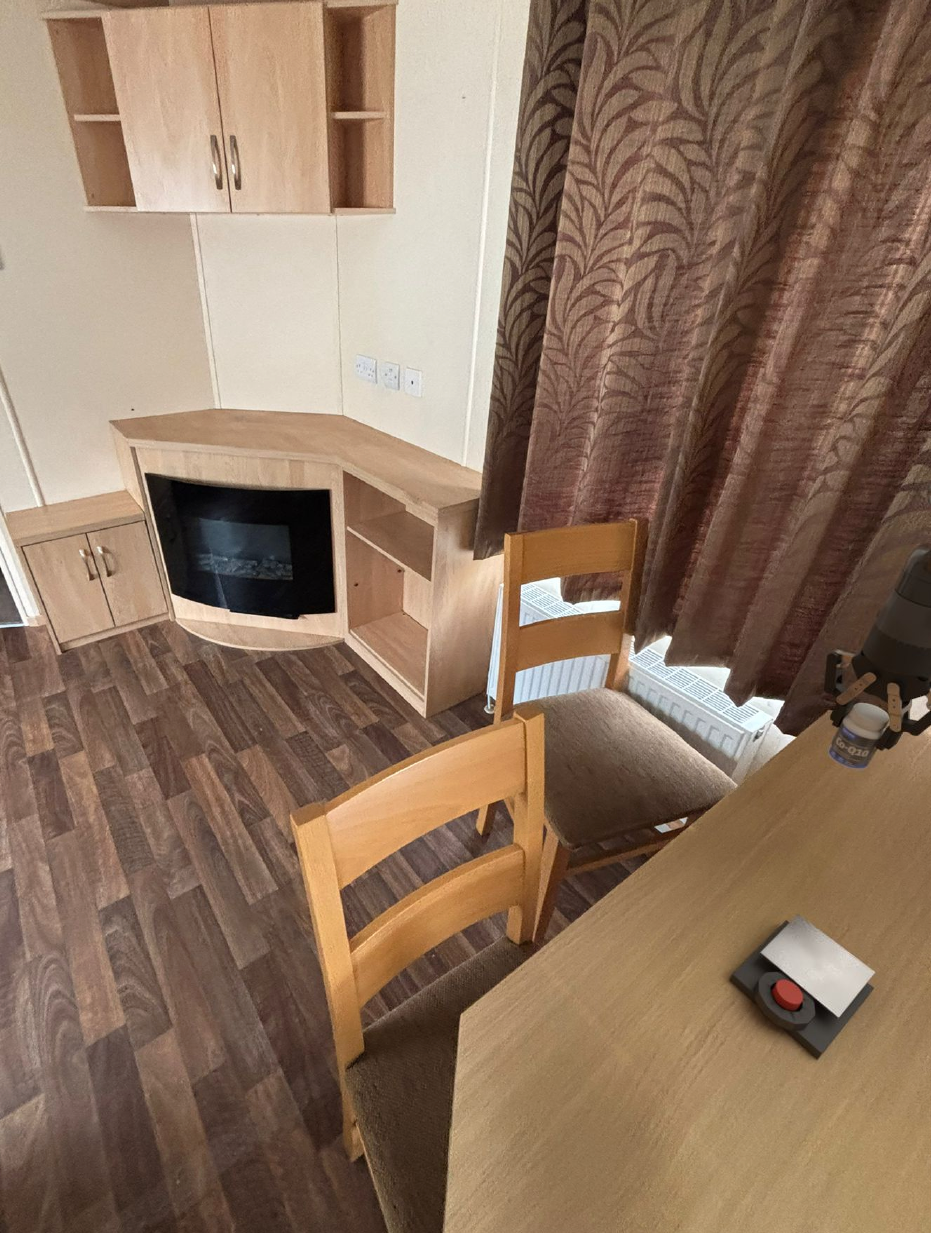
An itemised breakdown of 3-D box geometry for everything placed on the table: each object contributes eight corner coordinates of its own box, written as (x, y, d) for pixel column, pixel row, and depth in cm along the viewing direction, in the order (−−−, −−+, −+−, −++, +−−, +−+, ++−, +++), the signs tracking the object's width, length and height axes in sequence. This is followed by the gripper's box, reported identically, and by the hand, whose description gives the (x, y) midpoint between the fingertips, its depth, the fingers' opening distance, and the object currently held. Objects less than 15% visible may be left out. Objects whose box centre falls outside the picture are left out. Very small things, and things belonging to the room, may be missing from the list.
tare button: (779, 981, 70) (784, 974, 69) (803, 1001, 68) (807, 994, 67) (767, 995, 68) (771, 988, 68) (791, 1015, 66) (795, 1009, 66)
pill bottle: (822, 758, 84) (844, 711, 79) (832, 741, 87) (855, 695, 82) (862, 777, 81) (888, 729, 77) (871, 759, 84) (897, 712, 79)
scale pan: (797, 915, 76) (798, 913, 76) (874, 974, 70) (875, 972, 70) (759, 954, 72) (760, 952, 72) (837, 1019, 66) (838, 1017, 66)
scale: (782, 926, 78) (790, 912, 76) (869, 994, 71) (879, 980, 69) (722, 986, 72) (729, 972, 70) (811, 1068, 65) (821, 1054, 63)
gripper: (1002, 646, 69) (934, 756, 78) (863, 595, 79) (817, 697, 88) (975, 668, 66) (907, 780, 75) (834, 612, 76) (789, 716, 85)
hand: (859, 735), depth 81 cm, fingers closed on pill bottle, 4 cm apart
